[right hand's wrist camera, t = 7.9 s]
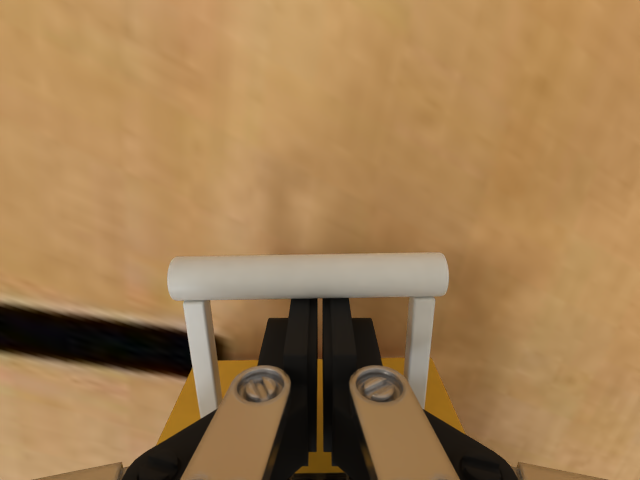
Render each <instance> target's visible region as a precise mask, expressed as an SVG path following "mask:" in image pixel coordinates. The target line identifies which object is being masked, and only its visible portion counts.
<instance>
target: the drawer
mask: <svg viewBox="0 0 640 480" xmlns="http://www.w3.org/2000/svg"><path fill="white" fill-rule="evenodd" d="M448 283H449V270H448V264H447V261H446V258H445V256H444V254H442V253H440V252H419V253H356V254H293V255H230V256H177V257H175V258H173V259H172V260H171V262H170V265H169V269H168V275H167V284H168V291H169V294H170V296H171V298H172V299H174V300H176V301H184V302H183V308H184V315H185V321H186V327H187V334H188V340H189V347H190V353H191V360H192V366H193V368H192V370H191V372H190V374H189V376H188V378H187V380H186V383H185V385H184V387H183V389H182V391H181V393H180V395H179V398H178V400H177V402H176V404H175V406H174V408H173V410H172V413H171V415H170V417H169V419H168V421H167V423H166V425H165V428H164V430H163V432H162V434H161V436H160V438H159V440H158V442H157V445H158V444H160V443H161V442H163V441H165V440H166V439H168V438H170V437H171V436H173V435H175V434H176V433H178V432H180V431H181V430H183V429H185V428H186V427H188V426H189V425H191V424H193V423H194V422H196V421H198V420H199V419H201V418H203V417H204V416H206V415H208V414H209V413H211V412H213V411H214V410H216V409H217V408H218V407H219V405H220V403H221V401H222V400H223V398H224V396H225V394H226V392H227V390H228V388H229V386H230V384H231V383H232V381H233V380H234V378H235V377H236V376H237V375H238V374H240V373H241V372H242V371H244V370H246V369H249V368H251V367H255V366H257V364H258V360H228V361H217V353H216V345H215V337H214V329H213V321H212V314H211V306H210V300H247V299H309V298H371V297H409V308H408V321H407V335H406V348H405V358H381V360H382V364H383V366H385V367H389V368H391V369H394V370H396V371H398V372H399V373H400V374H402V375H403V376H404V377H405V378H406V380H407V381H408V383H409V384H410V386H411V388H412V390H413V392H414V394H415V396H416V398H417V400H418V401H419V403H420V405H421V407H422V408H423V409H424V410H426V411H427V412H429V413H431V414H432V415H434V416H436V417H437V418H439V419H441V420H442V421H444V422H446V423H447V424H449V425H451V426H452V427H454V428H456V429H457V430H459V431H460V432H462V433H464V434H465V432H464V430H463V428H462V425H461V423H460V421H459V419H458V416H457V414H456V412H455V410H454V407H453V405H452V403H451V401H450V398H449V396H448V394H447V392H446V389H445V387H444V385H443V383H442V380H441V378H440V376H439V374H438V372H437V369H436V367H435V365H434V363H433V360H432V358H431V357H430V348H431V338H432V328H433V318H434V308H435V298H434V296H443V295H445V294H446V292H447V289H448ZM465 435H466V434H465ZM294 480H346V473H345V472H344V471H343V470H341V469H340V468H339V467H338V466H332V460H331V452H323V366H322V359H318V368H317V452H309V461H308V466H302V467H301V468H300V469H299V470H297V471H296V472H295V473H294Z"/></svg>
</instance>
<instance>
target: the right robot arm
mask: <svg viewBox="0 0 640 480" xmlns="http://www.w3.org/2000/svg"><path fill="white" fill-rule="evenodd" d="M322 366H323V452H331V460H332V466H338V467H339V468H340V469H341V470H343V471H344V472H345V473H346V480H607V479H602V478H596V477H591V476H586V475H581V474H576V473H571V472H566V471H561V470H556V469H551V468H546V467H541V466H536V465H531V464H526V463H521V462H518V465H517V468H515V467H511V466H510V465H509V464H508V463H507V462H506V461H505V460H504V459H503V458H502V457H500V456H499V455H498V454H496V453H495V452H493V451H492V450H490V449H488V448H487V447H485V446H484V445H482V444H480V443H479V442H477V441H475V440H474V439H472V438H470V437H469V436H467V435H465V434H464V433H462V432H460V431H459V430H457V429H456V428H454V427H452V426H451V425H449V424H447V423H446V422H444V421H442V420H441V419H439V418H437V417H436V416H434V415H432V414H431V413H429V412H427V411H426V410H424V409H423V408H422V407H421V405H420V403H419V401H418V400H417V398H416V396H415V394H414V392H413V390H412V388H411V386H410V384H409V383H408V381H407V380H406V378H405V377H404V376H403V375H402V374H400V373H399V372H398V371H396V370H394V369H391V368H389V367H385V366H383V364H382V360H381V356H380V352H379V347H378V343H377V339H376V335H375V331H374V326H373V322H372V319H371V318H351V311H350V304H349V298H323V334H322ZM317 368H318V327H317V298H309V299H291V305H290V311H289V318H269V319H268V322H267V326H266V331H265V335H264V339H263V343H262V348H261V352H260V356H259V360H258V364H257V366H255V367H251V368H249V369H246V370H244V371H242V372H241V373H240V374H238V375H237V376H236V377H235V378H234V380H233V381H232V383H231V384H230V386H229V388H228V390H227V392H226V394H225V396H224V398H223V400H222V401H221V403H220V405H219V407H218V408H217V409H216V410H214V411H213V412H211V413H209V414H208V415H206V416H204V417H203V418H201V419H199V420H198V421H196V422H194V423H193V424H191V425H189V426H188V427H186V428H185V429H183V430H181V431H180V432H178V433H176V434H175V435H173V436H171V437H170V438H168V439H166V440H165V441H163V442H161V443H160V444H158V445H156V446H155V447H153V448H152V449H150V450H148V451H147V452H145V453H144V454H142V455H141V456H140V457H138V458H137V459H136V460H135V461H134V462H133V463H132V464H131V465H130V466H129V467H125V468H123V465H122V462H119V463H114V464H109V465H104V466H99V467H94V468H89V469H84V470H79V471H74V472H69V473H64V474H59V475H54V476H49V477H44V478H38V479H33V480H294V473H295V472H296V471H297V470H299V469H300V468H301V467H302V466H308V461H309V452H317Z"/></svg>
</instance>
